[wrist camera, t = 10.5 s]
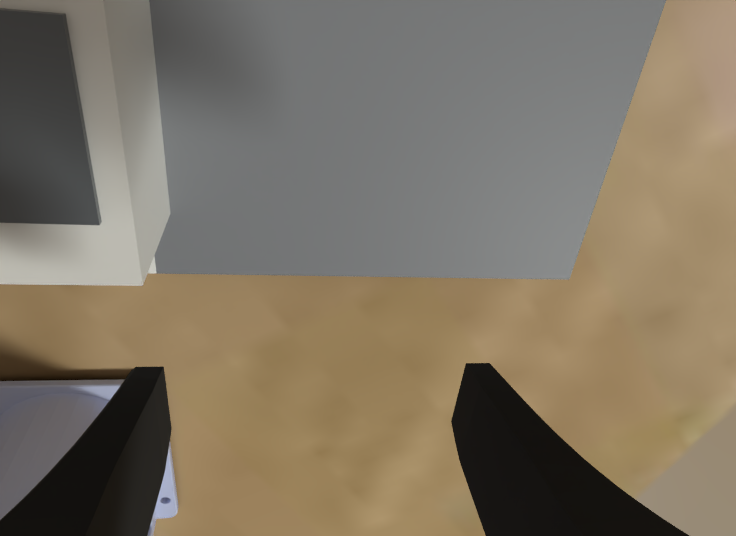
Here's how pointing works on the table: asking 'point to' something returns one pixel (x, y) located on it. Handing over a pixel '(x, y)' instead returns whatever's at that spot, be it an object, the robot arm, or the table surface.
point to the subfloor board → (390, 132)
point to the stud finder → (79, 143)
